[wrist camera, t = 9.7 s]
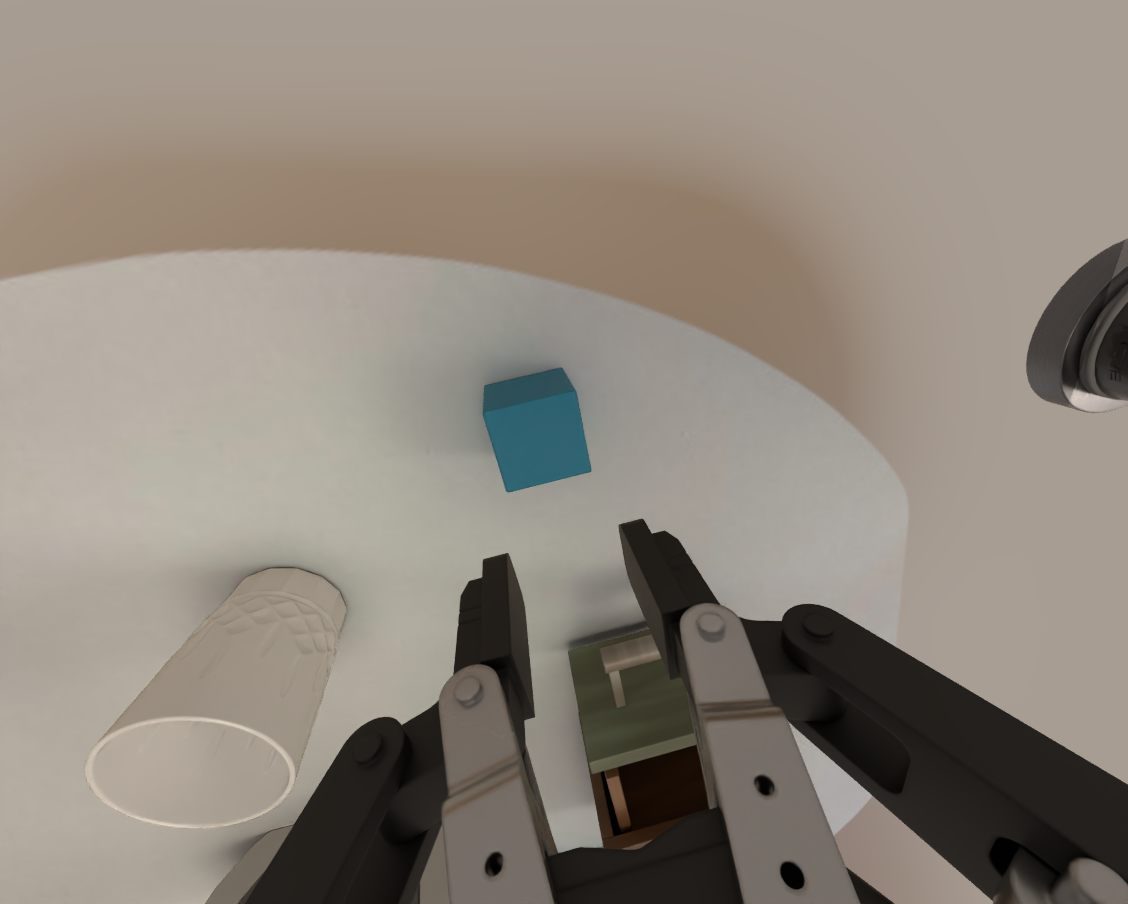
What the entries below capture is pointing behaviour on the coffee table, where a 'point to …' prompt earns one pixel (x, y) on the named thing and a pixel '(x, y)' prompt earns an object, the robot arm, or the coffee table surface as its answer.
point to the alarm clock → (249, 870)
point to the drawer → (638, 730)
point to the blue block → (536, 429)
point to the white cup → (226, 709)
